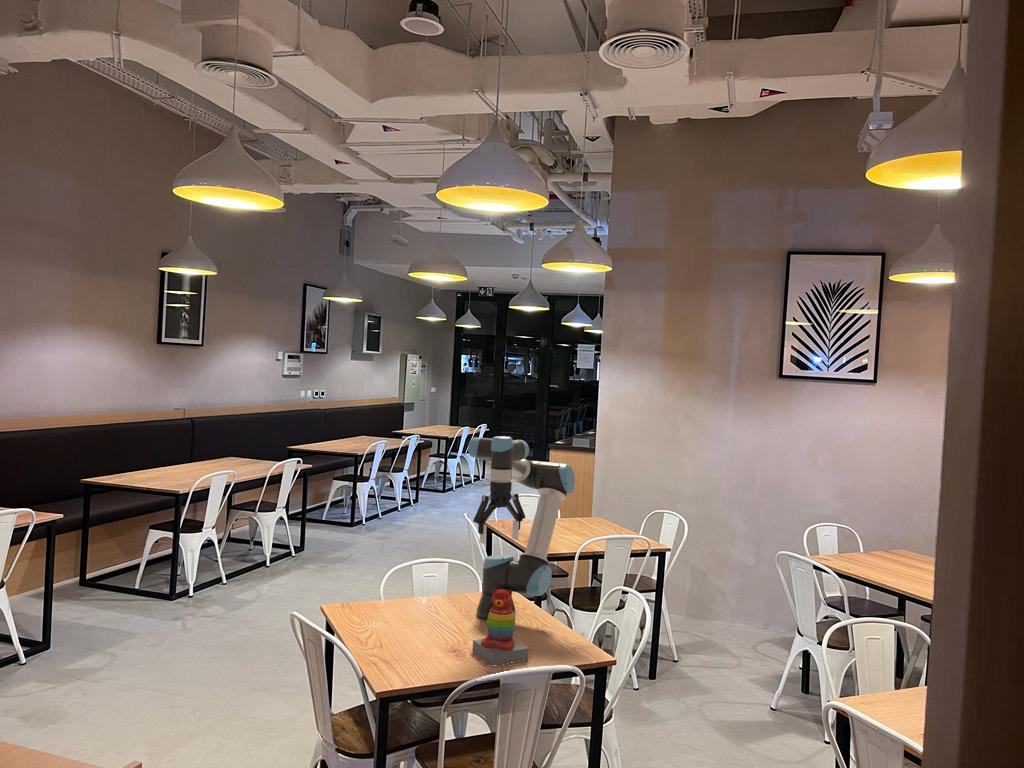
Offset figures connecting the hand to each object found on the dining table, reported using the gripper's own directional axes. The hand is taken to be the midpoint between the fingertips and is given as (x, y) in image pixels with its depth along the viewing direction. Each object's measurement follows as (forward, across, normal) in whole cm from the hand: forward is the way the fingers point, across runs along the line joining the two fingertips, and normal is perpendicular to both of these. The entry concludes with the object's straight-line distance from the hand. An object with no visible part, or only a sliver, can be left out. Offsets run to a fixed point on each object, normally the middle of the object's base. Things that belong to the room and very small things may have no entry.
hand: (499, 541), depth 254 cm
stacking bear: (+30, +8, +15) cm, 35 cm away
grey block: (+34, +8, +15) cm, 38 cm away
